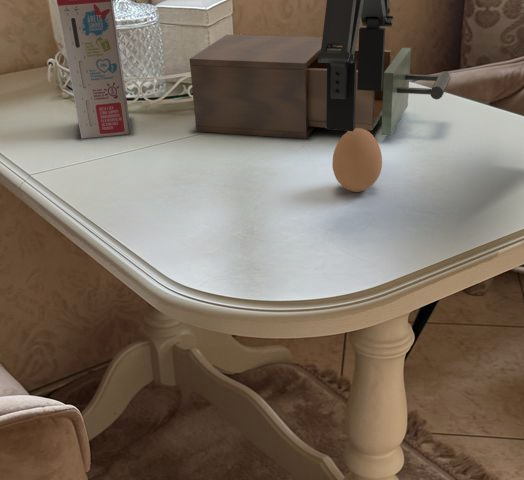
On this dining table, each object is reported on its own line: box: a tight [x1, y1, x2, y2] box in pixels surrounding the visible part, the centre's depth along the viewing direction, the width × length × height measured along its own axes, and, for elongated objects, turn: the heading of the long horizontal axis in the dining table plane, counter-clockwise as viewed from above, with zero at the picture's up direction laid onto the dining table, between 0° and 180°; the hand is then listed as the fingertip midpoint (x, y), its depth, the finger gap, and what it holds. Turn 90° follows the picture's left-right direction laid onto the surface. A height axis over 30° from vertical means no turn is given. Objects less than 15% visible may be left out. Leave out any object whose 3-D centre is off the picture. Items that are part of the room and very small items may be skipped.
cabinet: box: [189, 34, 323, 140], centre depth 108 cm, size 16×14×10 cm
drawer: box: [307, 47, 452, 137], centre depth 104 cm, size 20×12×8 cm, turn 71°
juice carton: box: [56, 0, 131, 139], centre depth 105 cm, size 7×7×22 cm
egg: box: [332, 128, 383, 193], centre depth 87 cm, size 5×5×7 cm
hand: (356, 108), depth 83 cm, fingers open, 13 cm apart
